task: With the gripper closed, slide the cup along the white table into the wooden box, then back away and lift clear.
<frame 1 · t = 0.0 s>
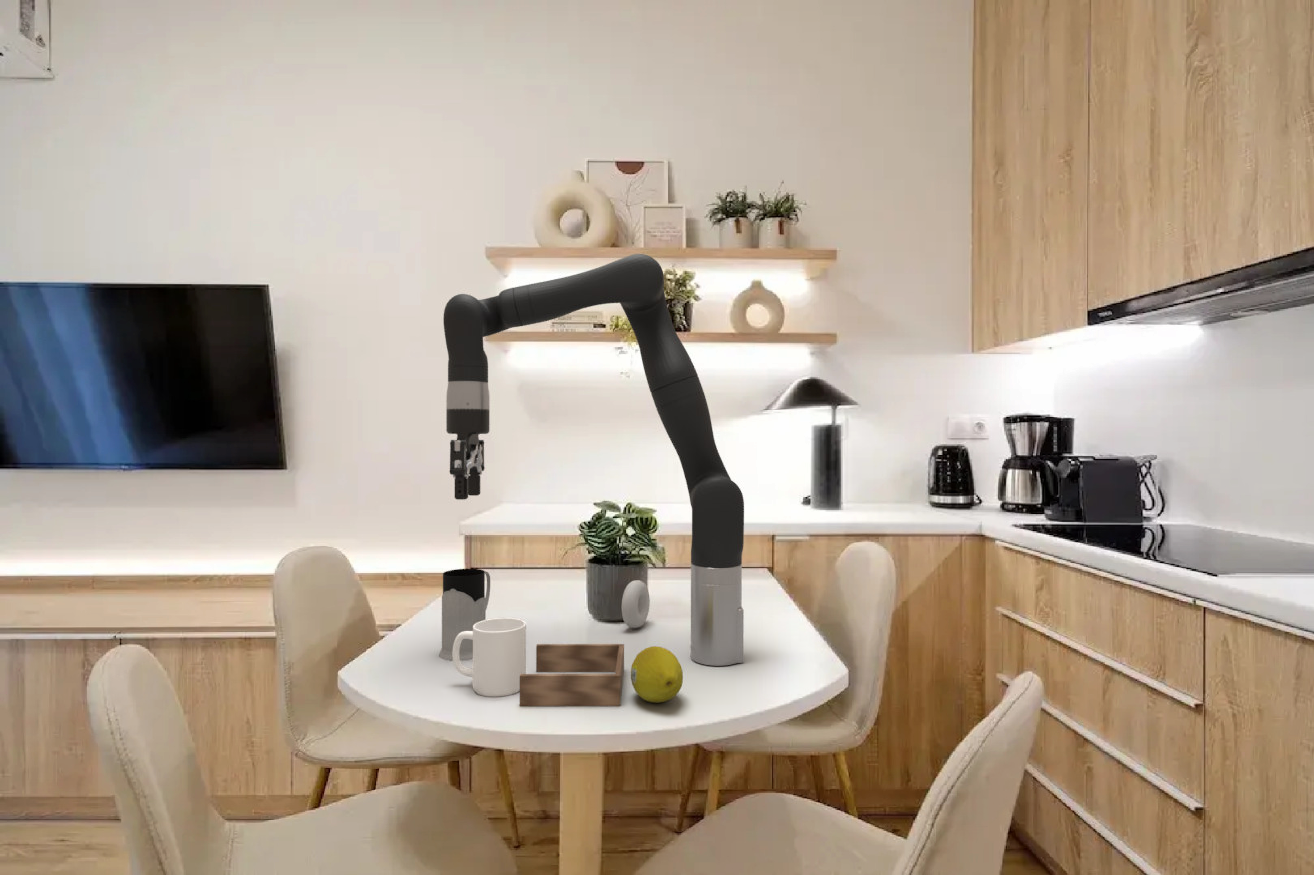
hand: (467, 497, 123), 29 cm above the table, fingers open, 8 cm apart
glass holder: (471, 649, 129), on the table
wooden box: (575, 686, 110), on the table
lemon: (656, 702, 104), on the table
cup: (488, 688, 109), on the table
donut: (635, 628, 144), on the table
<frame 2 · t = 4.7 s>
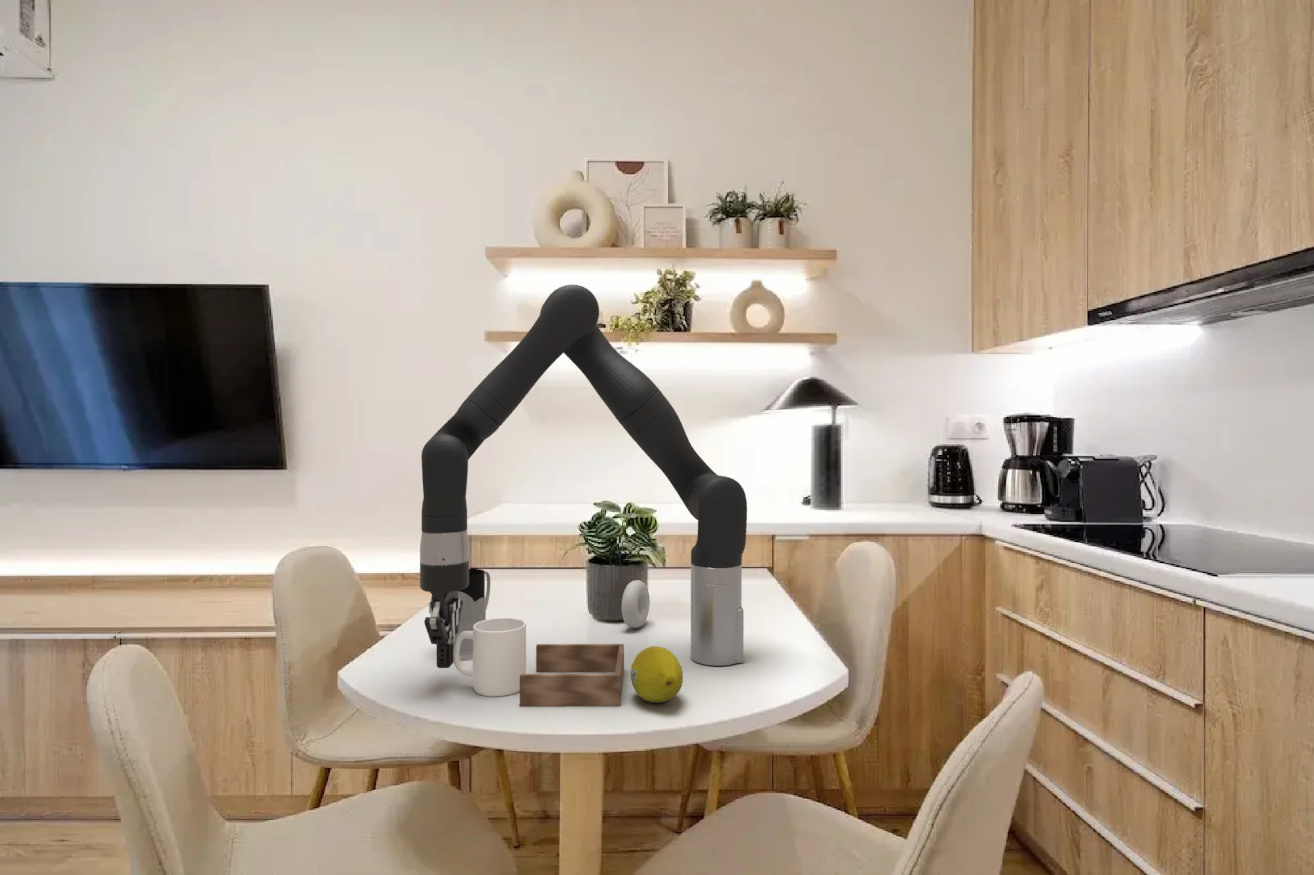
hand: (444, 666, 109), 3 cm above the table, fingers closed
cup: (488, 688, 109), on the table, touching gripper
everything else where it was.
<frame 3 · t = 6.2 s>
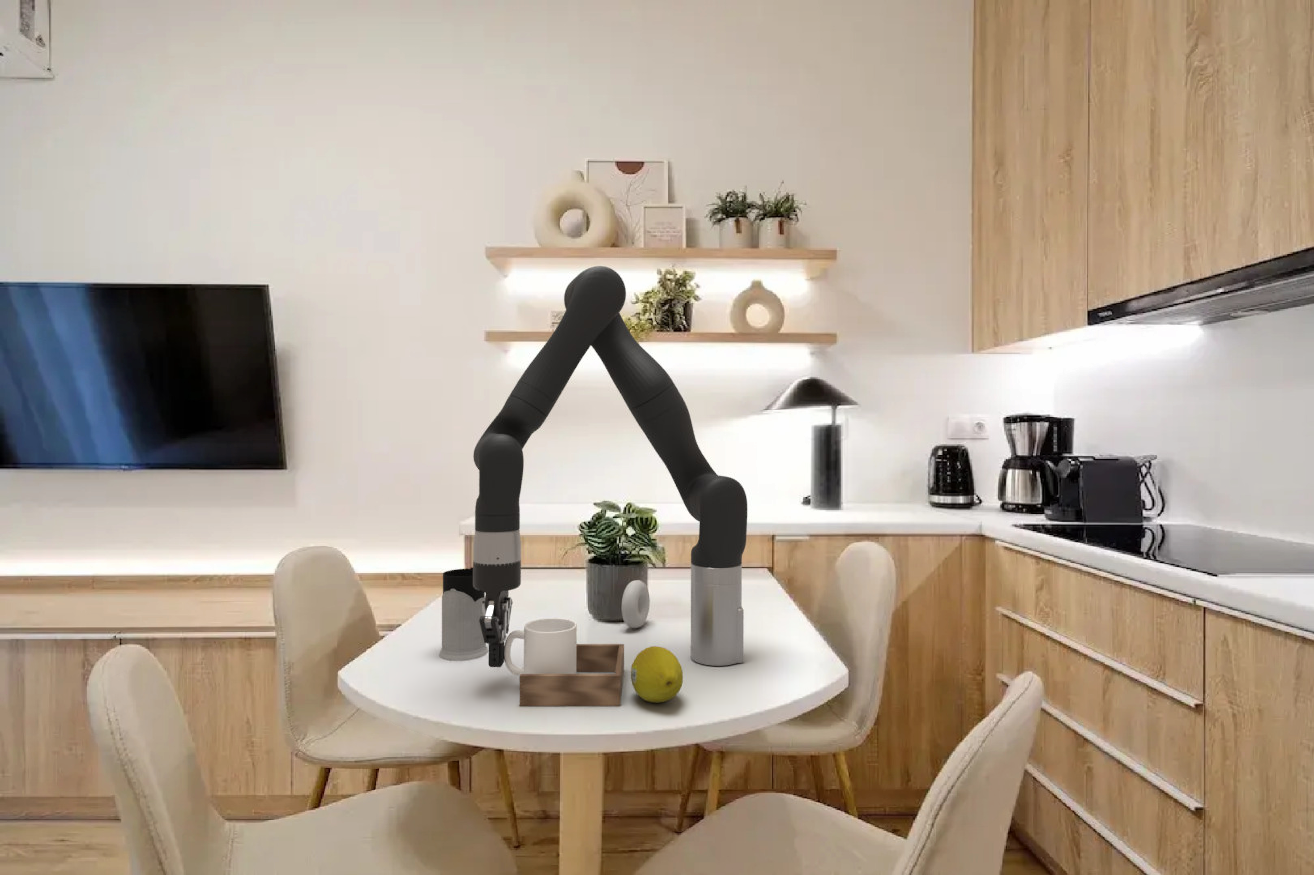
hand: (496, 665, 109), 3 cm above the table, fingers closed
cup: (538, 688, 109), on the table, touching gripper
everything else where it was.
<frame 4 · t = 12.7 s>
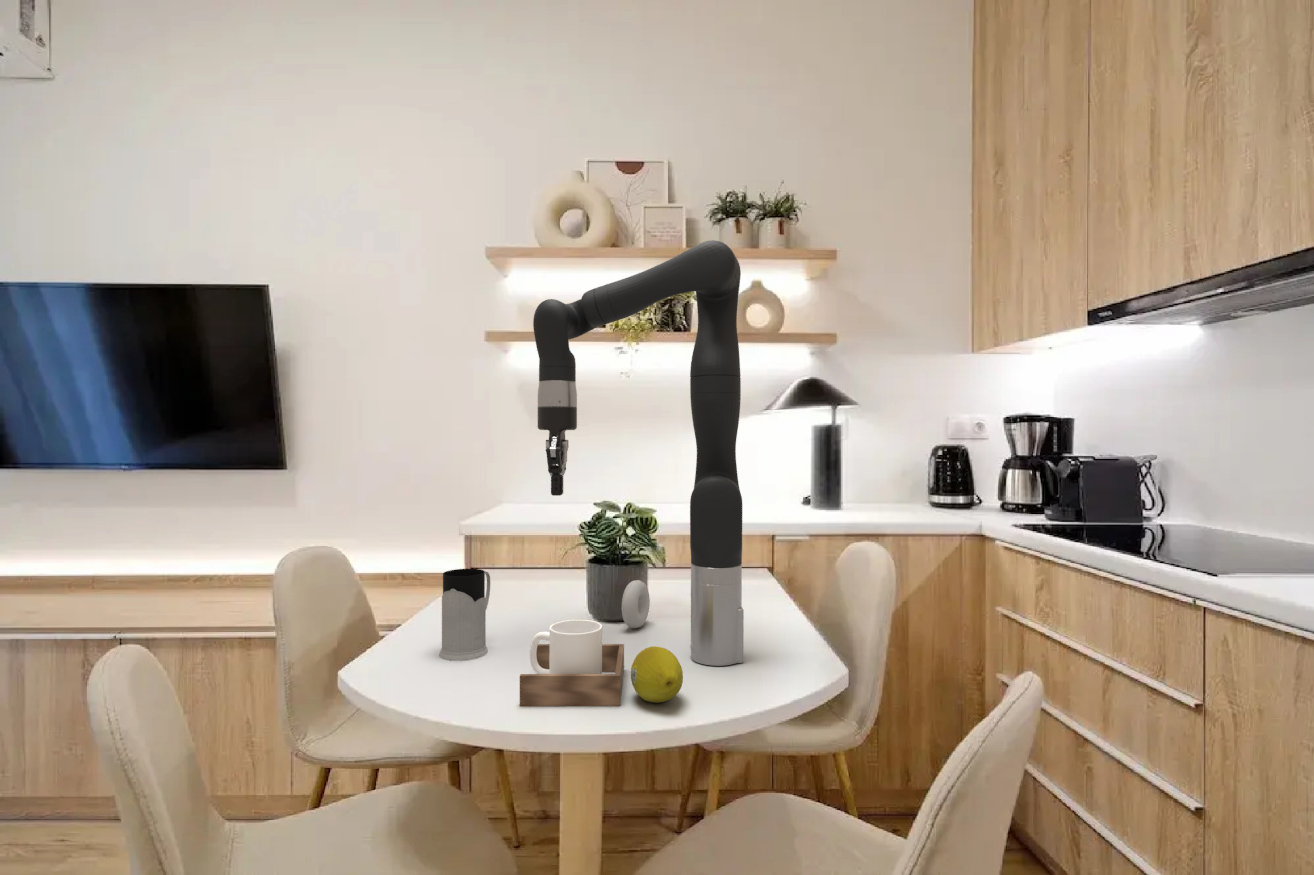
hand: (557, 495, 131), 29 cm above the table, fingers closed
cup: (564, 690, 109), on the table
everything else where it was.
at the end: cup inside the target area (1.2 cm from its centre), on the table; cup tilted 0° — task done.
